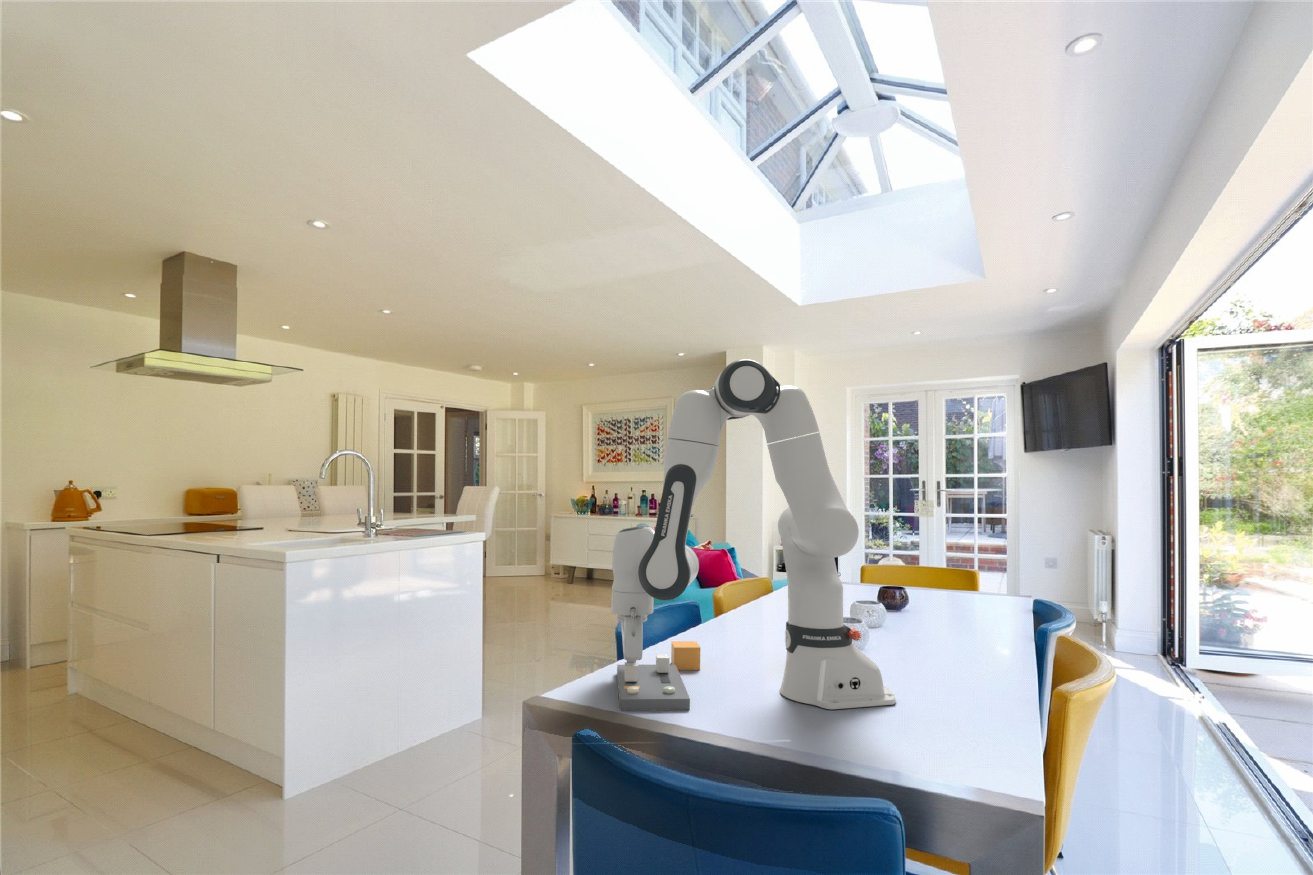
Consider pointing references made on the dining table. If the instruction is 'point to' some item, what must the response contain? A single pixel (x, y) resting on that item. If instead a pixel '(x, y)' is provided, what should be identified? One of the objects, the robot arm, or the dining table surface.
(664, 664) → the block
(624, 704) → the breaker panel
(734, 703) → the dining table surface
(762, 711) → the dining table surface
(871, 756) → the dining table surface
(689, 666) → the cap
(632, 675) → the block
